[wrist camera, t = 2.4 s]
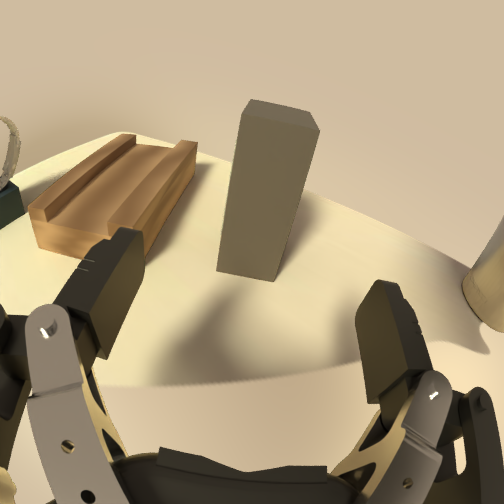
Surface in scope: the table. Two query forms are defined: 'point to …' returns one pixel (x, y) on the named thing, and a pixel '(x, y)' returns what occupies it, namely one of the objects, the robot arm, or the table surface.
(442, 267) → the table surface
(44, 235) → the wooden channel tray
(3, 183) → the watch
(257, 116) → the tall taupe pillar block
